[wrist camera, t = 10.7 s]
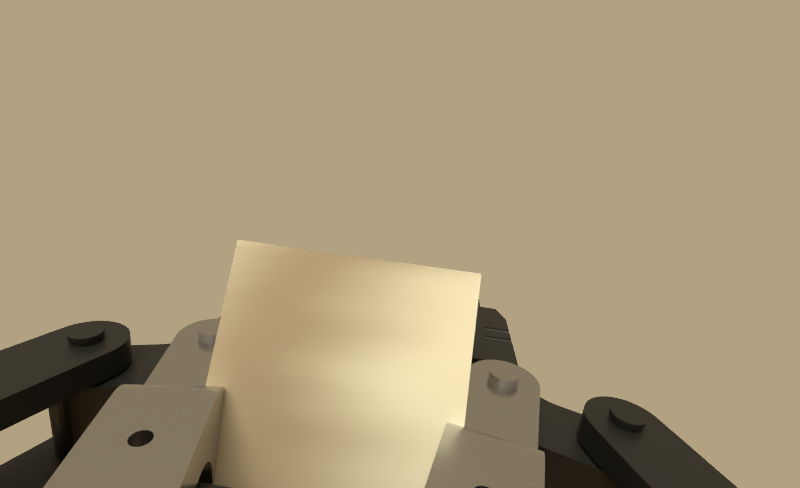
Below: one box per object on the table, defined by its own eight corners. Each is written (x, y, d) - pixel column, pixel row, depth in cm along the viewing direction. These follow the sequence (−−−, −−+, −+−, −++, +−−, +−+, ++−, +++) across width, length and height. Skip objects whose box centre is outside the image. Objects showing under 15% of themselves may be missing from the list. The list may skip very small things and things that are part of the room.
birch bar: (179, 503, 6) (237, 239, 7) (362, 375, 28) (371, 318, 29) (450, 550, 6) (481, 274, 6) (418, 383, 28) (426, 326, 29)
